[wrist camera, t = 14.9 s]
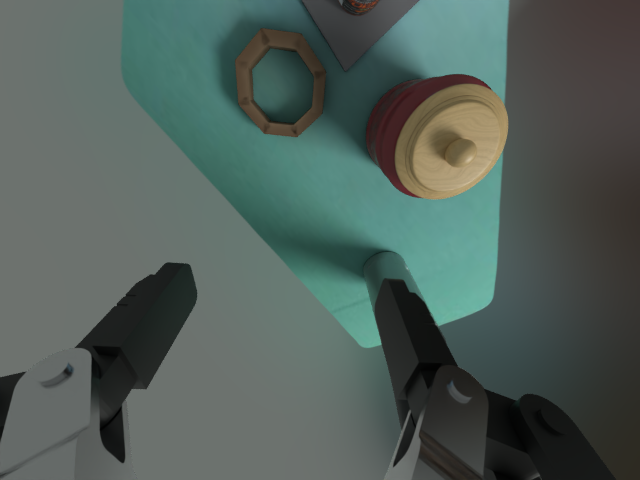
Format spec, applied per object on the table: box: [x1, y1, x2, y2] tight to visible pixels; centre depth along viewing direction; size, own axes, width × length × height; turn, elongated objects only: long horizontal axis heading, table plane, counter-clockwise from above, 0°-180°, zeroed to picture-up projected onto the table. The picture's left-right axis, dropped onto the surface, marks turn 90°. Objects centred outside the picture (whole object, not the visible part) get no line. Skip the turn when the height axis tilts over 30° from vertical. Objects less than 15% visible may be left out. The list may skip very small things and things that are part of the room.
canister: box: [366, 74, 508, 199], centre depth 28 cm, size 13×13×18 cm
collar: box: [235, 28, 326, 137], centre depth 32 cm, size 12×12×2 cm
